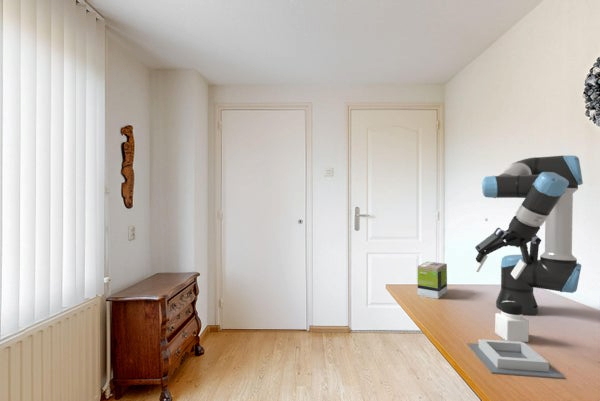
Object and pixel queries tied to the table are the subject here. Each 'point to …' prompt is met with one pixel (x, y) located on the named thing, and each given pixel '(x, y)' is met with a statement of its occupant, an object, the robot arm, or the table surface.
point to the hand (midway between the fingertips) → (494, 272)
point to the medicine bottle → (511, 322)
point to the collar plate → (513, 359)
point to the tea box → (432, 279)
